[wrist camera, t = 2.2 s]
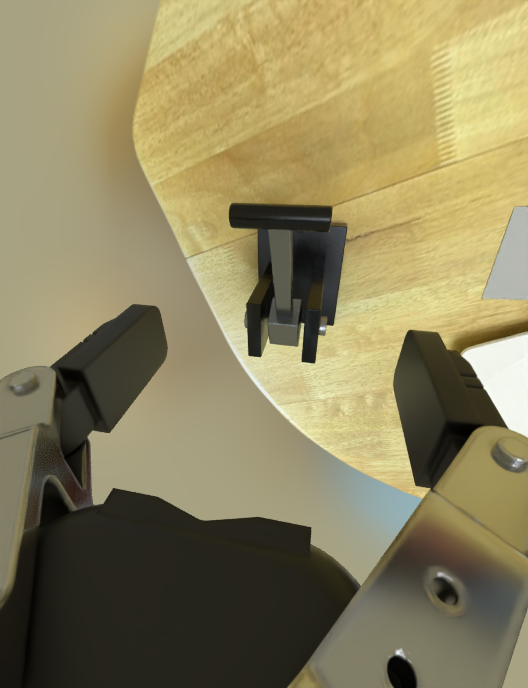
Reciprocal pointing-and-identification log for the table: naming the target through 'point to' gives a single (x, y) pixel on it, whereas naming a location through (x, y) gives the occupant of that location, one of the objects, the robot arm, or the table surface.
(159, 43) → the table surface
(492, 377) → the plate
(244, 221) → the press lever
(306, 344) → the lever bracket
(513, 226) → the grey square pad
